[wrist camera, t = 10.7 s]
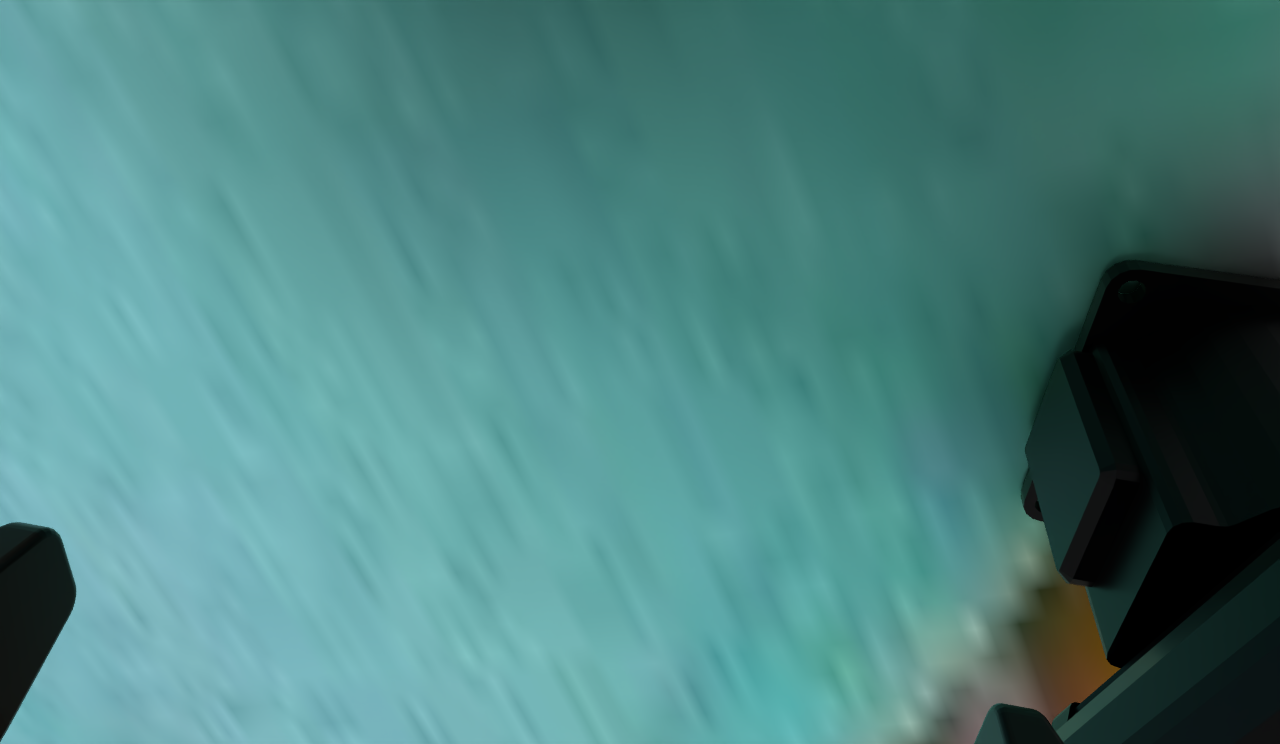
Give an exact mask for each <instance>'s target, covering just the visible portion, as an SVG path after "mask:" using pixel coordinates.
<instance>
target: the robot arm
mask: <svg viewBox="0 0 1280 744" xmlns="http://www.w3.org/2000/svg"><path fill="white" fill-rule="evenodd" d="M1136 280H1137V281H1139V282H1141V283H1140V286H1139V287H1138V288H1137V290H1135V291H1133V292H1131V293H1128V294H1121V293H1119V292H1118V290H1119V289H1120V287H1121V286H1122V285H1123V284H1125V283H1126V282H1128V281H1136ZM1025 453H1026V457H1027V460H1028V464H1029V468H1030V469H1029V471H1028V474H1027V477H1026V479H1025V482H1024V485H1023V487H1022V490H1021V499H1022V503H1023V507H1024V509H1025V512H1026V514H1027V515H1029V516H1030V517H1031V518H1032V519H1035V520H1039V521H1043V522H1044V524H1045V528H1046V531H1047V535H1048V539H1049V542H1050V546H1051V550H1052V554H1053V557H1054V561H1055V565H1056V569H1057V571H1058V572H1059V574H1060V575H1061V576H1062V578H1063V579H1064V580H1065V582H1066V583H1068V584H1074V585H1080V586H1085V588H1086V591H1087V594H1088V598H1089V601H1090V605H1091V608H1092V611H1093V615H1094V618H1095V622H1096V625H1097V628H1098V632H1099V635H1100V639H1101V642H1102V645H1103V649H1104V652H1105V655H1106V659H1107V660H1108V662H1109V663H1110V664H1111V665H1113V666H1116V667H1118V668H1121V669H1120V670H1119V671H1117V672H1116V673H1115V674H1114V675H1113V676H1112V677H1110V678H1109V679H1108V680H1107V681H1106V682H1105V683H1104V684H1102V685H1101V686H1100V687H1099V688H1098V689H1097V690H1095V691H1094V692H1093V693H1092V694H1091V695H1090V696H1089V697H1087V698H1086V699H1085V700H1084V701H1083V702H1082V703H1077V702H1074V703H1071V704H1070V705H1069V706H1068V707H1067V708H1066V709H1065V710H1063V711H1062V712H1061V713H1060V714H1059V715H1058V716H1057V717H1055V718H1054V720H1053V722H1052V726H1051V724H1050V723H1049V721H1048V720H1047V719H1046V717H1045V716H1044V715H1042V714H1041V713H1040V712H1038V711H1037V710H1034V709H1030V708H1024V707H1019V706H1013V705H1008V704H1003V703H999V704H995V705H993V706H992V707H991V708H990V710H989V711H988V713H987V715H986V718H985V720H984V722H983V725H982V727H981V729H980V731H979V734H978V736H977V738H976V741H975V743H974V744H1280V280H1276V279H1269V278H1261V277H1254V276H1247V275H1240V274H1232V273H1225V272H1218V271H1210V270H1203V269H1196V268H1189V267H1181V266H1174V265H1167V264H1160V263H1152V262H1145V261H1138V260H1127V261H1122V262H1120V263H1117V264H1114V265H1113V266H1112V267H1111V268H1109V269H1108V270H1107V271H1106V272H1105V274H1104V275H1103V277H1102V279H1101V281H1100V284H1099V286H1098V289H1097V291H1096V294H1095V297H1094V299H1093V302H1092V305H1091V307H1090V310H1089V313H1088V315H1087V318H1086V321H1085V323H1084V326H1083V329H1082V331H1081V334H1080V336H1079V339H1078V342H1077V344H1076V347H1075V350H1070V351H1068V352H1067V353H1065V354H1064V355H1063V356H1061V357H1060V358H1059V359H1058V360H1057V363H1056V365H1055V368H1054V371H1053V373H1052V376H1051V379H1050V382H1049V384H1048V387H1047V390H1046V392H1045V395H1044V398H1043V400H1042V403H1041V406H1040V409H1039V411H1038V414H1037V417H1036V419H1035V422H1034V425H1033V428H1032V430H1031V433H1030V436H1029V438H1028V441H1027V444H1026V447H1025ZM1037 500H1038V501H1037ZM75 599H76V585H75V581H74V578H73V575H72V571H71V568H70V565H69V562H68V558H67V555H66V552H65V548H64V545H63V542H62V539H61V537H60V535H59V534H58V533H57V532H56V531H55V530H54V529H51V528H49V527H43V526H38V525H32V524H27V523H20V522H15V523H9V524H6V525H4V526H1V527H0V741H1V740H2V738H3V736H4V735H5V733H6V731H7V730H8V728H9V726H10V724H11V722H12V720H13V719H14V717H15V715H16V713H17V711H18V709H19V708H20V706H21V704H22V702H23V700H24V698H25V697H26V695H27V693H28V691H29V689H30V687H31V686H32V684H33V682H34V680H35V678H36V676H37V675H38V673H39V671H40V669H41V667H42V665H43V664H44V662H45V660H46V658H47V656H48V654H49V653H50V651H51V649H52V647H53V645H54V643H55V642H56V640H57V638H58V636H59V634H60V632H61V631H62V629H63V627H64V625H65V623H66V621H67V620H68V618H69V616H70V614H71V612H72V610H73V607H74V604H75Z"/></svg>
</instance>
